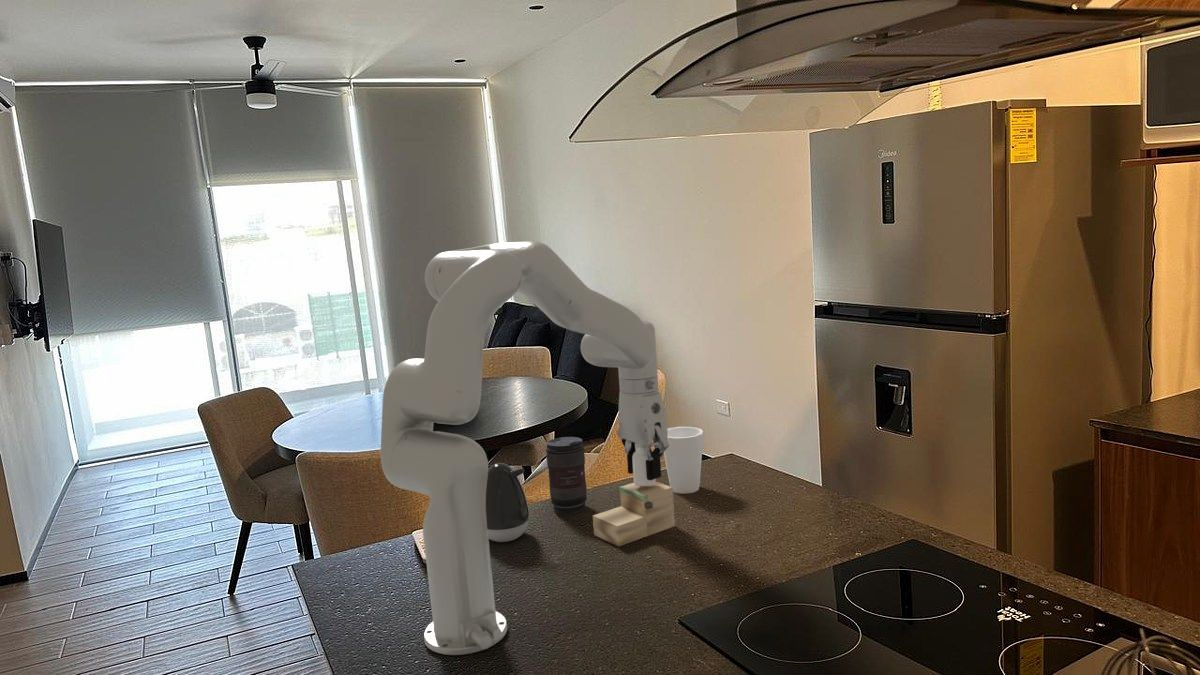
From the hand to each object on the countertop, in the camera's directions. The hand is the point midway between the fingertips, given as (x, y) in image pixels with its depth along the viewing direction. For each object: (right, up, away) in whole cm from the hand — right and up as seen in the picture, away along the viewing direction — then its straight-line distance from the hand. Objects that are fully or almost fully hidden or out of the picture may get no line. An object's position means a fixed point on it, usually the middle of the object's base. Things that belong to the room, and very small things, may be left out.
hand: (644, 474), depth 165 cm
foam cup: (+10, -7, +22) cm, 25 cm away
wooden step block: (-2, -11, 0) cm, 11 cm away
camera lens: (-15, -10, +15) cm, 23 cm away
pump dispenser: (-27, -13, +1) cm, 30 cm away
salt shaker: (0, -2, 0) cm, 2 cm away
